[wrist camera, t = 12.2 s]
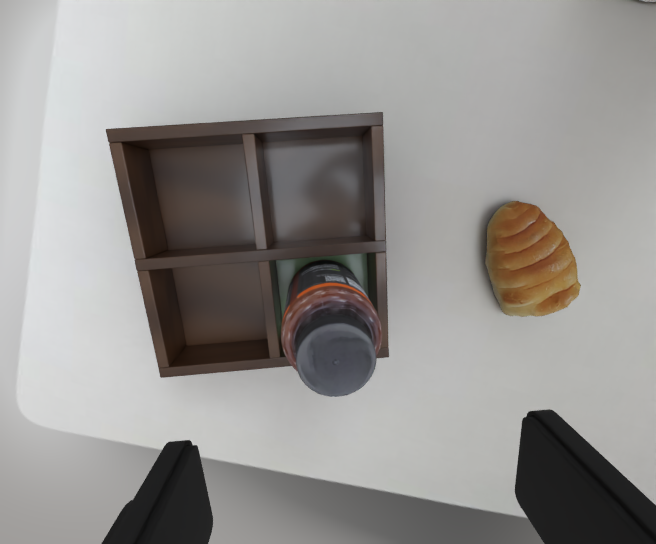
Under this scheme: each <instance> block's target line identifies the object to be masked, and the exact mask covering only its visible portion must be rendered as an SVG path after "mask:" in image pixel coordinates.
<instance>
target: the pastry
mask: <svg viewBox="0 0 656 544" xmlns="http://www.w3.org/2000/svg"><path fill="white" fill-rule="evenodd" d="M486 251H487V254H486V258H485V265H486V267H487V269H488V274H489V277H490V282H491V283H492V287H493V291H494V294H495V297H496V299H497V300H498V301H499V305H500V307H501V310H502V312H503V313H505V314H506V315H509V316H520V317H525V316H544V315H548V314H551V313H554V312H556V311H559V310H561V309H563V308H566V307H567V306H568V305H569V304H570V303H571V301H573V300H574V299H575V298H576V297H577V296H578V295H579V290H580V286H581V285H580V283H579V282H578V279H577V265H576V261H575V257H574V255H573V254H572V251H571V249H570V246H569V242H568V241H567V240H566V239H565V237H564V236H563V233H562V231H561V230H560V229H558V228H557V226H556V225H555V223H554V222H552V221H550V220H549V219H548V218H547V217H546V215H545V214H544V213H543V212H542V211H541V210H540V208H539V207H537V206H535V205H532V204H527V203H521V202H519V201H512V202H509V203H507V204H505V205H503V206H501V207H500V208H499V209H498V210H497V211H496V212H495V214H494V215H493V216H492V218H491V219H490V221H489V223H488V227H487V250H486Z"/></svg>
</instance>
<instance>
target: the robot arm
mask: <svg viewBox="0 0 656 544" xmlns="http://www.w3.org/2000/svg"><path fill="white" fill-rule="evenodd" d="M641 1H645V2H656V0H641ZM515 494H516V498H517V500H518V503H519V504H520V506H521V508H522V509H523V511H524V512H525V514H526V516H527V517H528V519H529V520H530V522H531V523H532V525H533V526H534V528H535V529H536V531H537V533H538V534H539V536H540V537H541V539H542V540H543V542H544V543H545V544H656V505H655V504H654V503H653V502H651V501H650V500H649V499H648V498H647V497H646V496H645V495H644V494H643V493H642V492H641V491H640V490H639V489H637V488H636V487H635V486H634V485H633V484H632V483H631V482H630V481H629V480H628V479H627V478H626V477H625V476H623V475H622V474H621V473H620V472H619V471H618V470H617V469H616V468H615V467H614V466H613V465H612V464H611V463H610V462H608V461H607V460H606V459H605V458H604V457H603V456H602V455H601V454H600V453H599V452H598V451H597V450H596V449H594V448H593V447H592V446H591V445H590V444H589V443H588V442H587V441H586V440H585V439H584V438H583V437H582V436H580V435H579V434H578V433H577V432H576V431H575V430H574V429H573V428H572V427H571V426H570V425H569V424H568V423H567V422H565V421H564V420H563V419H562V418H561V417H560V416H559V415H558V414H557V413H556V412H554V411H553V410H539V411H530V412H528V414H527V417H524V418H523V421H522V429H521V438H520V447H519V456H518V465H517V474H516V484H515ZM212 526H213V516H212V511H211V506H210V501H209V497H208V492H207V487H206V483H205V478H204V473H203V468H202V464H201V459H200V454H199V450H198V447H197V445H194V446H193V445H192V442H191V441H190V440H186V441H174V442H168V443H167V444H166V445H165V446H164V448H163V450H162V452H161V453H160V455H159V457H158V458H157V460H156V462H155V463H154V465H153V467H152V469H151V471H150V472H149V474H148V476H147V477H146V479H145V481H144V482H143V484H142V486H141V487H140V489H139V491H138V492H137V494H136V496H135V498H134V499H133V500H131V501H130V502H129V503H127V504H126V505H125V507H124V508H123V509H122V511H121V512H120V514H119V516H118V517H117V519H116V521H115V522H114V524H113V526H112V527H111V529H110V531H109V532H108V534H107V536H106V537H105V539H104V541H103V542H102V544H208V542H209V539H210V535H211V532H212Z"/></svg>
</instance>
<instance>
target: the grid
mask: <svg viewBox="0 0 656 544" xmlns="http://www.w3.org/2000/svg"><path fill="white" fill-rule="evenodd" d="M382 125H383V112H376V113H360V114H343V115H327V116H311V117H295V118H278V119H262V120H246V121H230V122H213V123H197V124H181V125H165V126H148V127H132V128H116V129H106V133H107V137H108V142H109V146H110V150H111V155H112V159H113V164H114V168H115V173H116V177H117V182H118V186H119V191H120V195H121V200H122V204H123V209H124V213H125V218H126V222H127V227H128V231H129V236H130V240H131V245H132V249H133V254H134V258H135V259H136V260H135V264H136V269H137V271H138V277H139V281H140V286H141V290H142V295H143V299H144V304H145V308H146V313H147V317H148V322H149V326H150V331H151V335H152V340H153V344H154V349H155V353H156V358H157V363H158V367H159V373H160V377H161V378H162V377H173V376H185V375H196V374H207V373H218V372H229V371H240V370H251V369H262V368H273V367H285V366H292V365H291V364H290V362H289V361H288V359H287V358H286V356H285V354H284V351H283V348H282V342H281V327H282V321H283V315H284V310H285V305H286V300H287V295H288V289H289V286H290V283H291V281H292V279H293V277H294V276H295V274H296V273H297V272H298V271H299V270H300V269H301V268H302V267H304V266H305V265H307V264H309V263H311V262H314V261H318V260H332V261H336V262H338V263H341V264H343V265H344V266H346V267H347V268H348V269H350V270H351V272H352V273H353V274H354V275H355V277H356V278H357V280H358V281H359V283H360V285H361V286H362V288H363V290H364V291H365V293H366V295H367V296H368V298H369V300H370V301H371V303H372V305H373V307H374V308H375V310H376V312H377V314H378V316H379V318H380V322H381V327H382V342H381V345H380V349H379V352H378V354H377V356H376V358H384V357H389V348H388V309H387V268H386V241H385V240H386V223H385V182H384V140H383V126H382Z"/></svg>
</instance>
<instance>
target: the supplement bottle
mask: <svg viewBox="0 0 656 544" xmlns="http://www.w3.org/2000/svg"><path fill="white" fill-rule="evenodd" d="M281 342H282V348H283V351H284V354H285V356H286V358H287V359H288V361H289V362H290V364H291V365H292V366H293V367H294V369H295V370H296V371H298V373H299V376H300V378H301V379H302V381H303V382H304V383H305V384H306V385H307V386H308V387H309V388H310V389H311V390H313V391H315V392H316V393H318V394H321V395H325V396H330V397H332V396H334V397H337V396H344V395H348V394H351V393H353V392H355V391H357V390H359V389H360V388H362V387H363V386H364V385H365V384H366V383H367V381H368V380H369V379H370V377H371V376H372V374H373V372H374V369H375V365H376V356H377V354H378V352H379V349H380V345H381V342H382V327H381V322H380V318H379V316H378V314H377V312H376V310H375V308H374V307H373V305H372V303H371V301H370V300H369V298H368V296H367V295H366V293H365V291H364V290H363V288H362V286H361V285H360V283H359V281H358V280H357V278H356V277H355V275H354V274H353V273H352V272H351V270H350V269H348V268H347V267H346V266H344V265H343V264H341V263H338V262H336V261H332V260H318V261H314V262H311V263H309V264H307V265H305V266H304V267H302V268H301V269H300V270H299V271H298V272H297V273H296V274H295V276H294V277H293V279H292V281H291V283H290V286H289V289H288V295H287V300H286V305H285V310H284V315H283V321H282V327H281Z"/></svg>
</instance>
